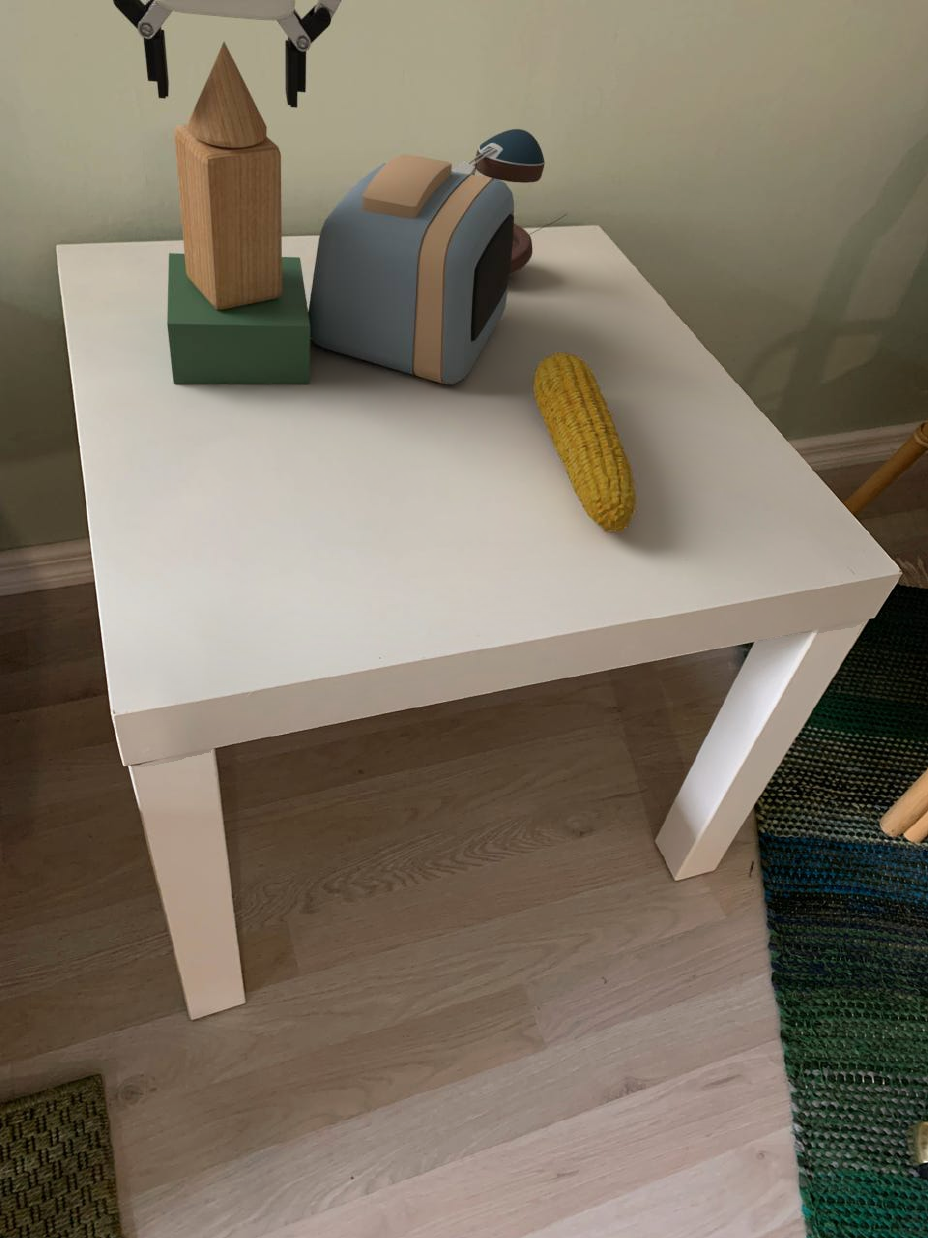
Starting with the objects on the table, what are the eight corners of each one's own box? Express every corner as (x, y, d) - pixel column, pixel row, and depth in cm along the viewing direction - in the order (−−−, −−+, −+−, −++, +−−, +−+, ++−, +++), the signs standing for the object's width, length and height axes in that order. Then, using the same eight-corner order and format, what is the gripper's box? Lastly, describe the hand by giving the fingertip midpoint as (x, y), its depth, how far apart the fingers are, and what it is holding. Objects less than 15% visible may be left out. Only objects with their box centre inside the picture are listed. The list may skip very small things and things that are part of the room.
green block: (173, 383, 85) (167, 323, 80) (174, 311, 92) (168, 252, 88) (309, 384, 87) (310, 325, 83) (299, 313, 95) (300, 256, 91)
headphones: (543, 226, 112) (404, 295, 102) (562, 93, 100) (406, 156, 90) (582, 250, 110) (444, 323, 100) (606, 116, 98) (452, 183, 88)
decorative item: (285, 299, 85) (283, 53, 71) (215, 314, 82) (199, 60, 68) (251, 264, 89) (243, 22, 74) (183, 277, 86) (161, 27, 71)
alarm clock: (460, 398, 89) (485, 235, 77) (298, 349, 91) (299, 183, 79) (507, 316, 100) (535, 162, 88) (362, 274, 102) (371, 117, 90)
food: (520, 396, 91) (532, 341, 86) (576, 395, 92) (590, 341, 88) (586, 550, 77) (604, 494, 73) (650, 546, 79) (671, 491, 74)
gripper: (344, -183, 65) (335, 85, 78) (76, -220, 62) (113, 69, 74) (357, -159, 61) (345, 123, 73) (67, -197, 57) (108, 107, 69)
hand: (228, 95), depth 74 cm, fingers open, 9 cm apart
